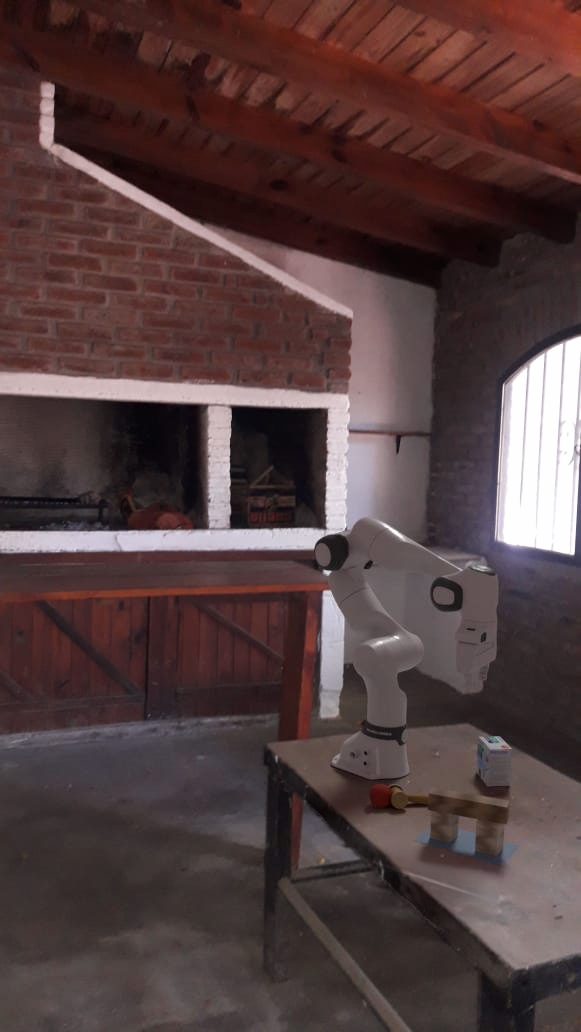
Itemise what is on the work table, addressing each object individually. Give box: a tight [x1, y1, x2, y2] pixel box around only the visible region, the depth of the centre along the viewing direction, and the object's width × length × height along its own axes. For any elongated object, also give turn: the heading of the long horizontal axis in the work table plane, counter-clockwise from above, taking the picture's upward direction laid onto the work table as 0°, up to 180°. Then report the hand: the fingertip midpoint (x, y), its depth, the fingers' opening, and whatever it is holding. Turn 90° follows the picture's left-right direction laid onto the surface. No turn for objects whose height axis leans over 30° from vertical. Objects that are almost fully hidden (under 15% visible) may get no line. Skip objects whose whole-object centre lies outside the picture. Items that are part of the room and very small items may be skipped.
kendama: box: [368, 783, 429, 810], centre depth 215 cm, size 8×6×18 cm
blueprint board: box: [413, 824, 519, 867], centre depth 195 cm, size 21×12×1 cm, turn 58°
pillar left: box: [430, 810, 460, 843], centre depth 197 cm, size 5×5×7 cm
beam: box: [427, 787, 510, 825], centre depth 194 cm, size 18×4×4 cm, turn 69°
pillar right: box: [475, 819, 506, 857], centre depth 191 cm, size 5×5×7 cm
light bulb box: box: [475, 735, 513, 788], centre depth 235 cm, size 11×7×11 cm, turn 5°
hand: (476, 683), depth 211 cm, fingers open, 8 cm apart
